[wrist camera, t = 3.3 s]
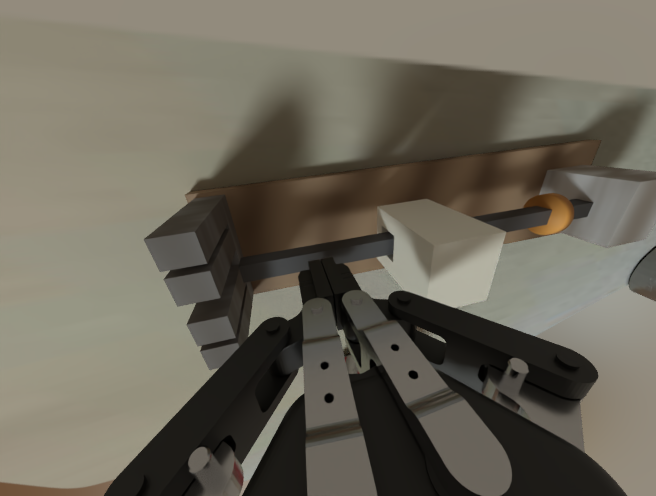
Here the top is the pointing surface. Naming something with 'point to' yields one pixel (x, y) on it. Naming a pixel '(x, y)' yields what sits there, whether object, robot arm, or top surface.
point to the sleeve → (440, 251)
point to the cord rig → (361, 223)
